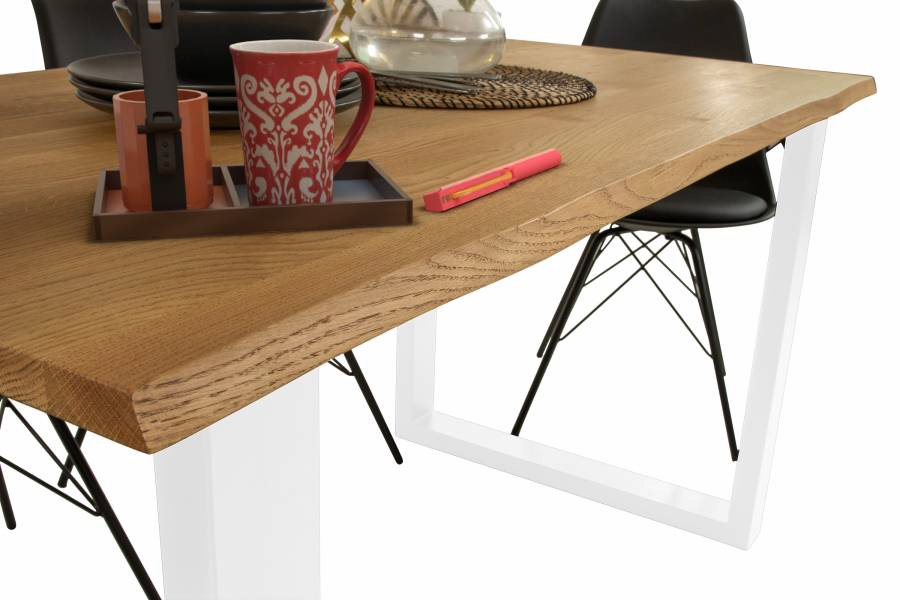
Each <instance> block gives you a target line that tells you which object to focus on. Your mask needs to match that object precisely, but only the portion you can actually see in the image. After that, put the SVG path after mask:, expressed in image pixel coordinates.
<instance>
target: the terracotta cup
mask: <svg viewBox="0 0 900 600" xmlns="http://www.w3.org/2000/svg"><path fill="white" fill-rule="evenodd" d="M177 89H178V102H179V115H180V118H182V124H181V129H180V131H181V133H182V146H183V160H184V174H185V188H186V202H187V209H201V208H205V207H207V206H209V205H211V204H212V203H213V201H214V198H213V195H214V191H213V175H212V165H213V163H212V161H213V159H212V146H211V145H212V144H211V129H210V115H209V100H208V98H209V97H208V94H207V93H206V92H203V91H199V90H194V89H184V88H177ZM112 102H113V103H112V105H113V106H112V107H113V115H114V123H115V124H114V126H115V137H116V147H117V148H116V149H117V157H118V158H117V159H118V169H120V179H121V190H122V199H123V206H124V207H125V208H126V209H128V210H131V211H135V212H139V211H152V201H151V189H150V177H149V165H148V154H147V142H146V134H140V135H138V132H137V125H145V119H146V106H145V94H144V89H135V90H127V91H123V92H119V93H115V94H114V95H112ZM155 114H170V113H155Z"/></svg>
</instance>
